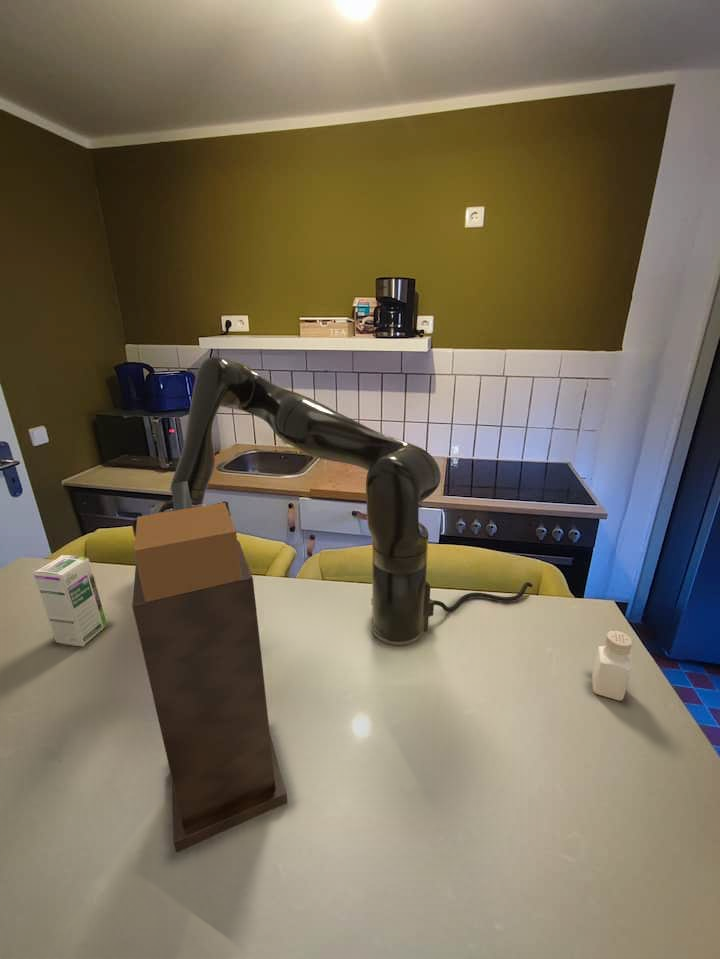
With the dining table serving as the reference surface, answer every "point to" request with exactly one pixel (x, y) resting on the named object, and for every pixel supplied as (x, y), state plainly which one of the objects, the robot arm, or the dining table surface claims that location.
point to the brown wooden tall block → (210, 705)
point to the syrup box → (71, 599)
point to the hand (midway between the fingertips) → (185, 518)
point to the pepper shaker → (612, 666)
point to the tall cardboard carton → (186, 548)
